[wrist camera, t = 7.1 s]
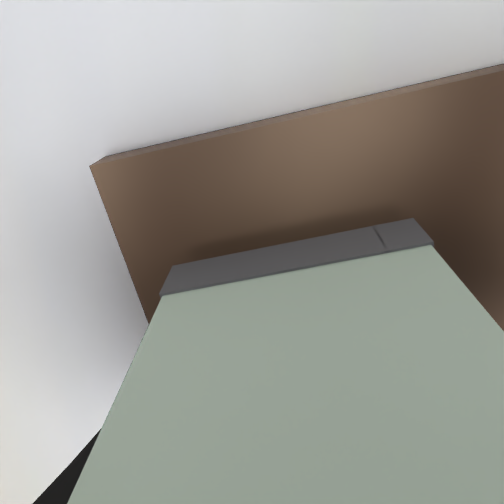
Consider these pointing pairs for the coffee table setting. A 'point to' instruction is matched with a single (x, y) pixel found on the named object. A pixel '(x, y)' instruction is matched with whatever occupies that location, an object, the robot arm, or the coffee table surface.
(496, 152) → the pin board
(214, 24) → the coffee table surface
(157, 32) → the coffee table surface
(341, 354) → the sleeve
